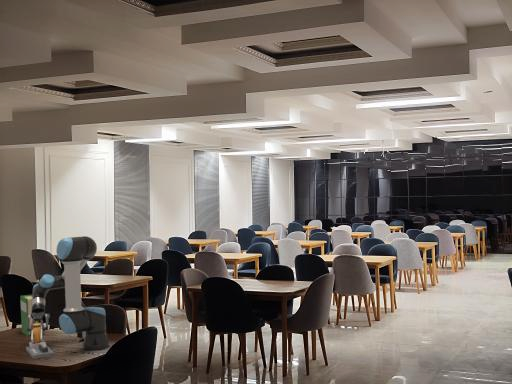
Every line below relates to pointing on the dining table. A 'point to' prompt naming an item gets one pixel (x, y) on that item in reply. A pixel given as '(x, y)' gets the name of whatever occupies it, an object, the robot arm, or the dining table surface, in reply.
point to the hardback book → (26, 312)
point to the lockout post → (37, 333)
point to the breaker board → (39, 350)
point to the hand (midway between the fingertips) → (36, 340)
